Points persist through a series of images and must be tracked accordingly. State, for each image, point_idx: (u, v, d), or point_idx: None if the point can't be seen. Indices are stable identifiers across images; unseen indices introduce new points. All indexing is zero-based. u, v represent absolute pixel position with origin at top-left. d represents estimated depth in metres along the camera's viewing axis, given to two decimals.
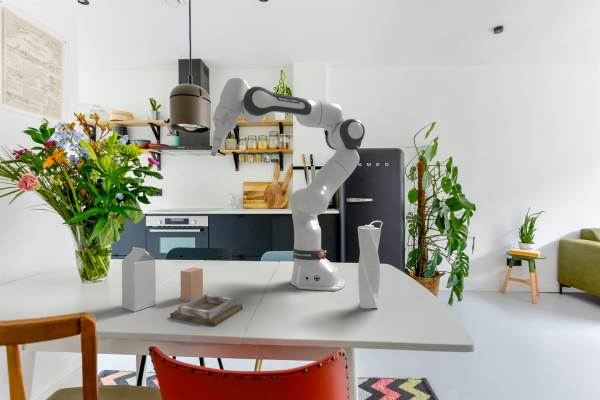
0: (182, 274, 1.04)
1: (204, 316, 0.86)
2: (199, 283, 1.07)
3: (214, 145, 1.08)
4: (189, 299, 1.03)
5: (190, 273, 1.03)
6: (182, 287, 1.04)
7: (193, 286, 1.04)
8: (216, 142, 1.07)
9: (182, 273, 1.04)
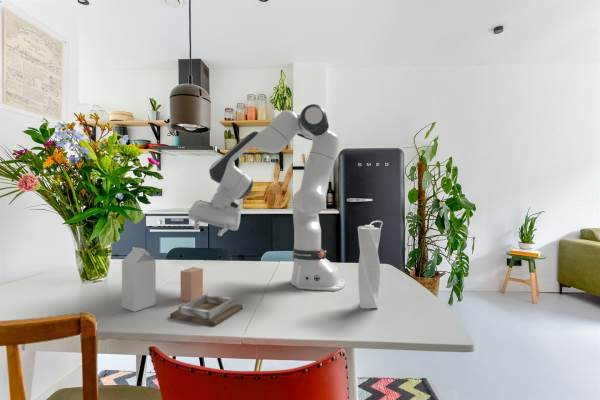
0: (182, 274, 1.04)
1: (204, 316, 0.86)
2: (199, 283, 1.07)
3: None
4: (189, 299, 1.03)
5: (190, 273, 1.03)
6: (182, 287, 1.04)
7: (193, 286, 1.04)
8: (195, 221, 1.18)
9: (182, 273, 1.04)
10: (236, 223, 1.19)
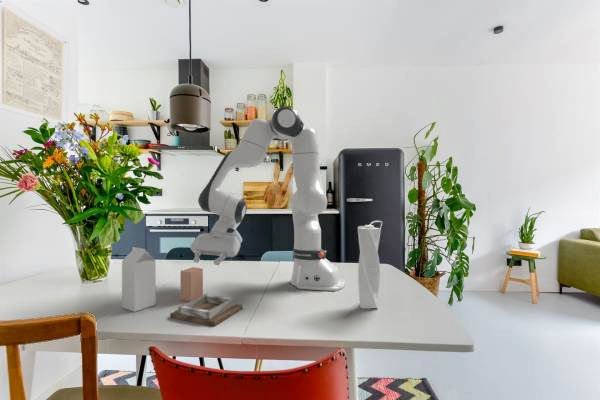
0: (182, 274, 1.04)
1: (204, 316, 0.86)
2: (199, 283, 1.07)
3: None
4: (189, 299, 1.03)
5: (190, 273, 1.03)
6: (182, 287, 1.04)
7: (193, 286, 1.04)
8: None
9: (182, 273, 1.04)
10: (231, 249, 1.13)
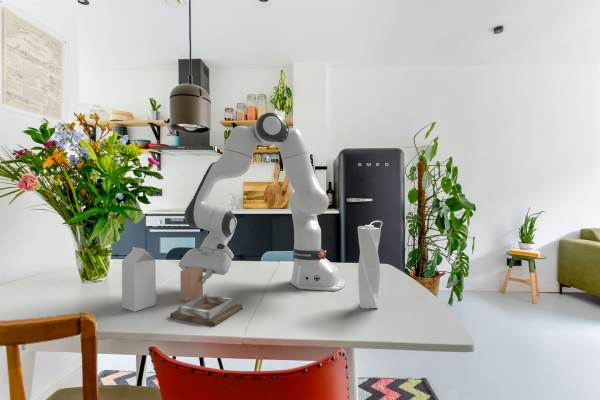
0: (182, 274, 1.04)
1: (204, 316, 0.86)
2: (199, 283, 1.07)
3: None
4: (189, 299, 1.03)
5: (190, 273, 1.03)
6: (182, 287, 1.04)
7: (193, 286, 1.04)
8: None
9: (182, 273, 1.04)
10: (221, 266, 1.07)
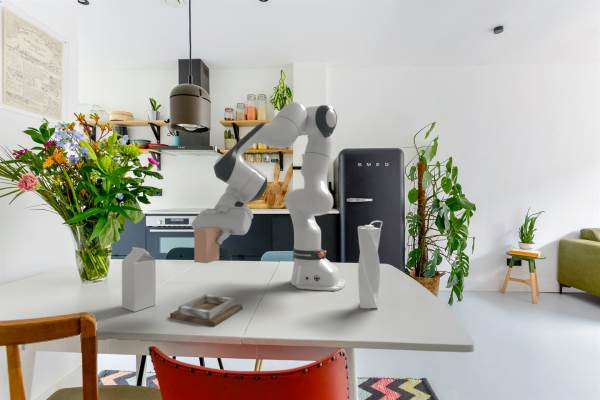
0: (196, 232, 0.91)
1: (204, 316, 0.86)
2: (215, 244, 0.93)
3: None
4: (204, 260, 0.90)
5: (205, 230, 0.90)
6: (196, 247, 0.91)
7: (209, 246, 0.91)
8: None
9: (196, 231, 0.91)
10: (240, 225, 0.93)
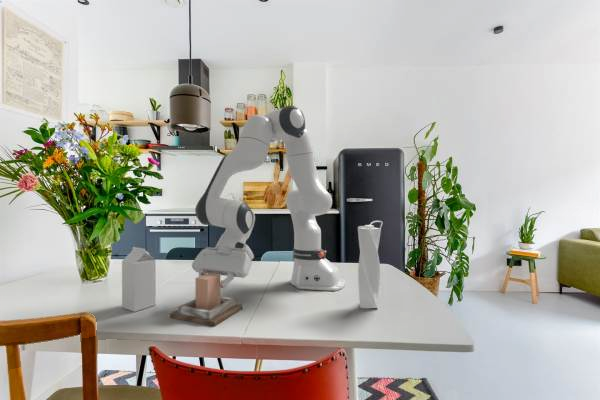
0: (197, 282, 0.91)
1: (204, 316, 0.86)
2: (216, 292, 0.94)
3: None
4: None
5: (207, 281, 0.90)
6: (197, 296, 0.91)
7: (210, 295, 0.91)
8: None
9: (197, 280, 0.91)
10: (241, 268, 0.93)
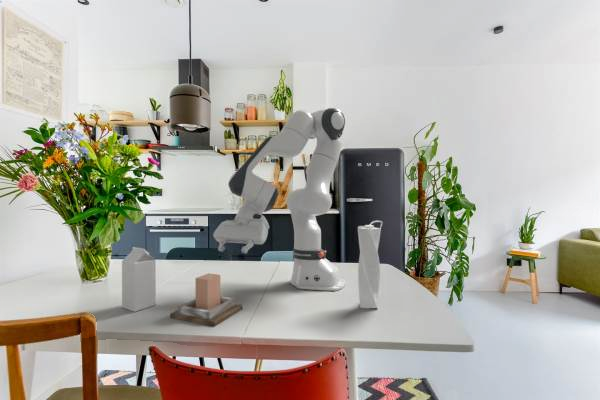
0: (197, 282, 0.91)
1: (204, 316, 0.86)
2: (216, 292, 0.94)
3: None
4: None
5: (207, 281, 0.90)
6: (197, 296, 0.91)
7: (210, 295, 0.91)
8: None
9: (197, 280, 0.91)
10: (259, 235, 1.04)
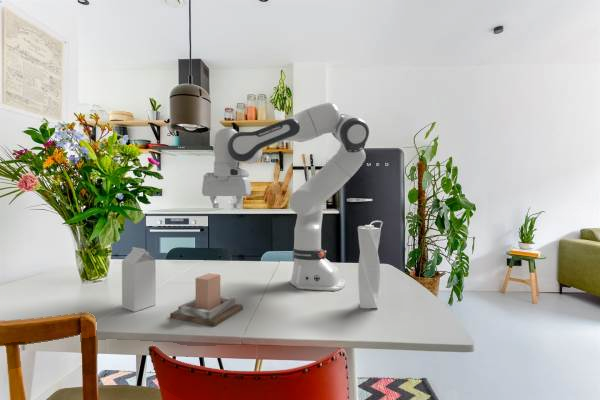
0: (197, 282, 0.91)
1: (204, 316, 0.86)
2: (216, 292, 0.94)
3: None
4: None
5: (207, 281, 0.90)
6: (197, 296, 0.91)
7: (210, 295, 0.91)
8: None
9: (197, 280, 0.91)
10: (244, 192, 1.11)
